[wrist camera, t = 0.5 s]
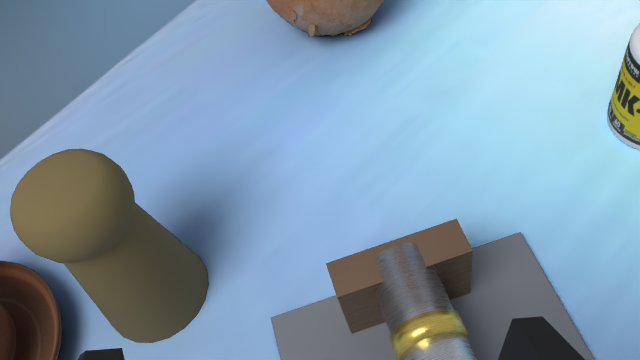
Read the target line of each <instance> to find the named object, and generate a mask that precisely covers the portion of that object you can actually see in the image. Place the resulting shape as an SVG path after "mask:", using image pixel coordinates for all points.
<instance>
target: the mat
mask: <svg viewBox="0 0 640 360" xmlns="http://www.w3.org/2000/svg"><path fill="white" fill-rule="evenodd" d="M472 250H473V256H472V279H471V293H469V294H467V295H464V296H461V297H458V298H455V299H452V300H450V302H451V304H452V307H453V309H454V310H455V311H457V312H458V313H459V315H460V317H461V320H462V322H463V324H464V326H465V328H466V331H467V333H468V335H469V338H468V342H469V344H470V346H471V349H472V351H473V353H474V355H475V357H476V360H498V358H499V355H500V352H501V349H502V346H503V343H504V341H505V338H506V335H507V332H508V329H509V326H510V324H511V321H512V319H513V318H527V317H540V316H543V317H544V318H545V319H546V320H547V321H548V322H549V323H550V324H551V325H552V326H553V327H554V328H555V329H556V330H557V331H558V332H559V334H560V335H561V336H562V337H563V338H564V339H565V340H566V341H567V342H568V343H569V344H570V345H571V346H572V347H573V348H574V349H575V350H576V351H577V352H578V353H579V354H580V355H581V356H582V357H583V358H584V359H585V360H594V358H593V357H592V355H591V353H590V352H589V350H588V348H587V346H586V345H585V343H584V341H583V339H582V338H581V336H580V334H579V333H578V331H577V329H576V327H575V326H574V324H573V322H572V320H571V319H570V317H569V315H568V314H567V312H566V310H565V308H564V307H563V305H562V303H561V301H560V300H559V298H558V296H557V295H556V293H555V291H554V289H553V288H552V286H551V284H550V282H549V281H548V279H547V277H546V276H545V274H544V272H543V270H542V269H541V267H540V265H539V263H538V262H537V260H536V258H535V257H534V255H533V253H532V251H531V250H530V248H529V246H528V244H527V243H526V241H525V239H524V238H523V236H522V234H521V232H519V233H516V234H513V235H510V236H508V237H505V238H502V239H499V240H496V241H493V242H490V243H487V244H484V245H481V246H478V247H475V248H473V249H472ZM271 321H272V326H273V330H274V334H275V338H276V342H277V346H278V351H279V355H280V359H281V360H397V359H396V357H395V354H394V351H393V348H392V346H391V343H390V340H389V337H390V332H389V330H388V327H387V324H386V322H385V323H382V324H379V325H377V326H374V327H371V328H368V329H365V330H362V331H359V332H356V333H353V334H351V331H350V329H349V326H348V324H347V321H346V319H345V316H344V314H343V311H342V309H341V306H340V304H339V301H338V299H337V296H333V297H330V298H327V299H324V300H321V301H318V302H315V303H313V304H310V305H307V306H304V307H301V308H298V309H295V310H292V311H289V312H286V313H283V314H281V315H278V316H275V317H272V318H271Z"/></svg>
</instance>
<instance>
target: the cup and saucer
mask: <svg viewBox="0 0 640 360" xmlns="http://www.w3.org/2000/svg"><path fill="white" fill-rule="evenodd" d="M61 335H62V322H61V314H60V310H59V306H58V303H57V300H56V298H55V296H54V294H53V292H52V290H51V289H50V287H49V286H48V285H47V283H46V282H45V281H44V280H43V279H42V278H41V277H40V276H39V275H38V274H37V273H36V272H34V271H33V270H31V269H29V268H28V267H25V266H23V265H20V264H17V263H13V262H6V261H0V360H57V358H58V355H59V350H60V345H61Z"/></svg>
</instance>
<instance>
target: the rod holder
mask: <svg viewBox="0 0 640 360" xmlns="http://www.w3.org/2000/svg"><path fill="white" fill-rule="evenodd" d="M472 256H473V250H472V248H471V246H470V244H469V242H468V241H467V239H466V237H465V235H464V233H463V231H462V229H461V227H460V225H459V223H458V221H457V219H454V220H451V221H449V222H446V223H443V224H440V225H437V226H434V227H431V228H428V229H425V230H422V231H419V232H416V233H414V234H411V235H408V236H405V237H402V238H399V239H396V240H393V241H390V242H387V243H384V244H382V245H379V246H376V247H373V248H370V249H367V250H364V251H361V252H358V253H355V254H352V255H349V256H347V257H344V258H341V259H338V260H335V261H332V262H329V263H326V265H327V268H328V271H329V274H330V277H331V280H332V283H333V286H334V289H335V293H336V296H337V299H338V301H339V304H340V306H341V309H342V311H343V314H344V316H345V319H346V321H347V324H348V326H349V329H350V331H351V334H353V333H356V332H359V331H362V330H365V329H368V328H371V327H374V326H377V325H379V324H382V323H385V322H386V324H387V327H388V330H389V332H390V337H389V340H390V343H391V346H392V348H393V351H394V354H395V357H396V359H397V360H476V357H475V355H474V353H473V351H472V349H471V346H470V344H469V342H468V338H469V335H468V333H467V331H466V328H465V326H464V324H463V322H462V320H461V317H460V315H459V313H458V312H457V311H455V310H454V309H453V307H452V304H451V302H450V300H452V299H455V298H458V297H461V296H464V295H467V294H469V293H471V279H472Z"/></svg>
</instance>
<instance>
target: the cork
mask: <svg viewBox="0 0 640 360" xmlns="http://www.w3.org/2000/svg"><path fill="white" fill-rule="evenodd" d="M10 215H11V221H12V224H13V228H14V231H15V232H16V234H17V236H18V237H19V239H20V240H21V241H22V242H23V243H24V244H25V245H26V246H27V247H28V248H29V249H30V250H31V251H33V252H34V253H35V254H36V255H39V256H42V257H44V258H47V259H50V260H53V261H55V262H58V263H64V264H65V266H66V267H67V268H68V269H69V271H70V272H71V273H72V275H73V276H74V277H75V278H76V280H77V281H78V282H79V284H80V285H81V286H82V287H83V289H84V290H85V291H86V293H87V294H88V295H89V296H90V298H91V299H92V300H93V302H94V303H95V304H96V305H97V307H98V308H99V309H100V311H101V312H102V313H103V314H104V316H105V317H106V318H107V320H108V321H109V322H110V323H111V325H112V326H113V327H114V328H115V329H116V330H117V331H118V332H119V333H120V334H121V335H122V336H123V337H125V338H127V339H130V340H132V341H135V342H144V343H153V342H157V341H160V340H163V339H167V338H170V337H171V336H173V335H174V334H176V333H178V332H179V331H181V330H182V329H184V328H185V327H186V326H187V325H188V324H189V323H190V322H191V321H192V320H193V319H194V318H195V316H196V315H197V314H198V312H199V310H200V308H201V306H202V305H203V303H204V301H205V298H206V293H207V289H208V276H207V269H206V267H205V266H204V264H203V262H202V260H201V258H200V257H199V256H198V255H196V254H195V253H194V252H193V251H192V250H190V249H189V248H188V247H187V246H186V245H185V244H183V243H182V242H181V241H180V240H179V239H177V238H176V237H175V236H174V235H173V234H172V233H170V232H169V231H168V230H167V229H166V228H165V227H163V226H162V225H161V224H160V223H159V222H157V221H156V220H155V219H154V218H153V217H152V216H150V215H149V214H148V213H147V212H146V211H144V210H143V209H142V208H141V207H140V206H139V205H137V204H136V203H135V199H134V192H133V188H132V185H131V183H130V181H129V179H128V177H127V175H126V174H125V172H124V171H123V170H122V168H121V167H120V166H119V165H118V164H116V163H115V162H114V161H112V160H111V159H110V158H108V157H107V156H105V155H104V154H102V153H98V152H94V151H91V150H86V149H68V150H65V151H61V152H58V153H55V154H52V155H51V156H49V157H47V158H45V159H43V160H41V161H40V162H38V163H37V164H36V165H35V166H34V167H32V168H31V169H30V170H29V171H28V172H27V173H26V174H25V175H24V177H23V178H22V179H21V180H20V182H19V183H18V184H17V187H16V189H15V191H14V193H13V195H12V199H11V207H10Z"/></svg>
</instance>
